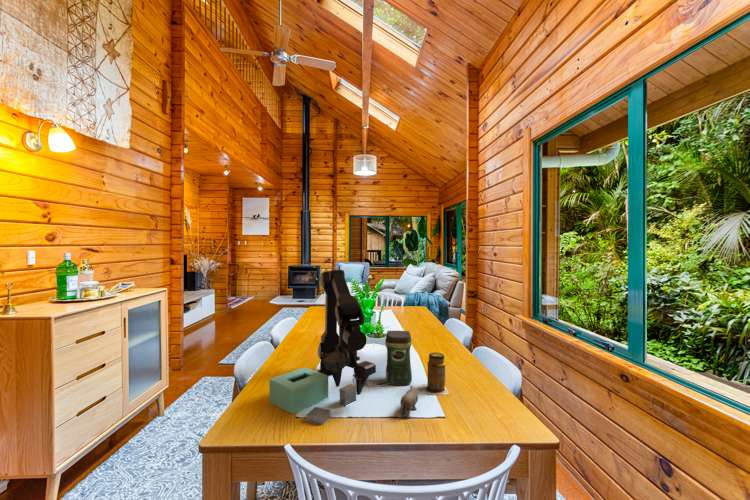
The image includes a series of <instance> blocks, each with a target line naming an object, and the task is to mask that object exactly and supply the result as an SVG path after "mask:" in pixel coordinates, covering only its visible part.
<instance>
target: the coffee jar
mask: <svg viewBox="0 0 750 500" xmlns="http://www.w3.org/2000/svg"><path fill="white" fill-rule="evenodd" d="M384 343H385V346H386V364H387V365H386V367H385V382H386V383H387V384H389V385H392V386H393V385H397V386H404V385H405V386H407V385H409V384H411V383H412V382H413V381H412V380H413V375H412V365H411V347H412V343H413V342H412V336H411V332H410V330H387V331H386V333H385V342H384Z"/></svg>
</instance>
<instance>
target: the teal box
mask: <svg viewBox="0 0 750 500" xmlns="http://www.w3.org/2000/svg"><path fill="white" fill-rule="evenodd" d="M268 385H269V394H268V395H269V397H268V398H269V401H268V402H269V403H270V404H272V405H274V406H277V407H278V408H280V409H282V410H284V411H286V412H287V413H290V414H291V415H294V414H297V413H299V412H301V411H303V410H305V409H308V408H310V407H312V406H315V405H316V403H317V404H319V403H321V402H323V401H325V400H324V399H326V398H328V399H329V376H328V375H325V374H322V373H320V372H318V371H316V370H314V369H311V368H309V367H305V366H304V367H302V368H301V367H300V368H298V369H294V370H292V371H289V372H285V373H283V374H280V375H277V376H274V377H271V378H269V384H268ZM322 400H323V401H322ZM326 400H327V399H326ZM320 401H321V402H320ZM318 402H319V403H318ZM311 405H312V406H311ZM309 406H310V407H309ZM307 407H308V408H307ZM304 408H305V409H304ZM302 409H303V410H302ZM300 410H301V411H300Z"/></svg>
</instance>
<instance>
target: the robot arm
mask: <svg viewBox="0 0 750 500" xmlns="http://www.w3.org/2000/svg"><path fill="white" fill-rule="evenodd" d="M345 277H346V276H345V271H344V270H342V269H331V270H326V271H322V273H320V275H319V283H320V284H321V285H320V286H321V288H322V289H323V291H324V293H325V300H324V301H325V302H324V303H325V309H324V310H325V314H324V319H325V320H324V322H325V323H324V332H323V333H322V335H321V336H320V342H319V344H318V346H317V347H318V348H317V356H318V358H319V359H320V361H319V370H318V371H317V372H320V373H322V374H325V375H328V377H329V376H331V375H332V379H333V382H334V384H335V387H336V388H338V387H340V384H341V379H342V375H343V374H342V373H343V369H344V368H345V367H347V368H350V369H353V373H354V374H353V378H355V380H356V381H355V383H356V396H360V395H361V393H362V391H363V389H364V386H365V385H366V382H367V381H368V379H369V378H370V376H372V375H373V374H374V373H377V372H376V371H377V370H376V369H377V367H376V364H375V362H371V361H367V360H364V361H361V362H358V361H360V360H361V359H360V357H361V356H358V351H361V350H362V349H363V348H365V347H366V344H367V343H368V341H367V340H368V339H367V336H366V334H365V333H364V332H363V331H362V330H361V326H364V325H365V316H364V312H363V309H362V307H361V305H360V303H359V302H358V299H357V298H356V297H355V296H353V295H352V294H351V292H350V289H349V286H348V282H347V280H346V278H345ZM337 330H338V332H337Z"/></svg>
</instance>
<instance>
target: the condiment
mask: <svg viewBox="0 0 750 500" xmlns="http://www.w3.org/2000/svg"><path fill="white" fill-rule="evenodd" d="M423 385H424V389H425V391H426V392H427V394H428V395H435V396H436V395H437V396H439V395H441V396H442V395H450V393H449V391H448V389H447V387H446V362H445V355H444V354H443V353H441V352H435V351H434V352H430V353H429V354H428V362H427V383H424V384H423Z"/></svg>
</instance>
